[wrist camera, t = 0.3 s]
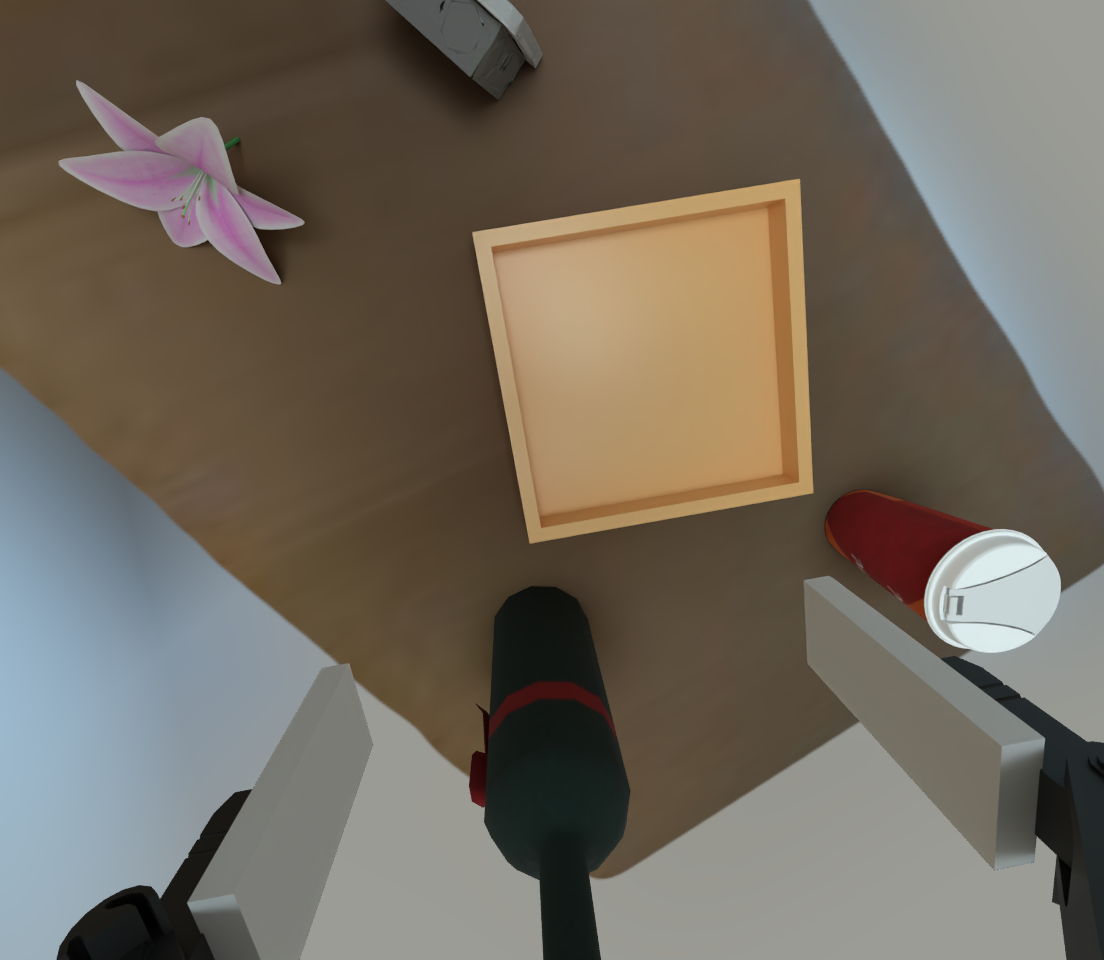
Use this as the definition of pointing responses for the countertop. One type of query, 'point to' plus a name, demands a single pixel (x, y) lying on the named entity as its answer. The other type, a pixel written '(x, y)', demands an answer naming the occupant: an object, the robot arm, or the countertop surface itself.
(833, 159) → the countertop surface
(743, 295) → the wooden tray
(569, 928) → the wine bottle
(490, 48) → the electrical switch
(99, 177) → the lily
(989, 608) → the paper cup
